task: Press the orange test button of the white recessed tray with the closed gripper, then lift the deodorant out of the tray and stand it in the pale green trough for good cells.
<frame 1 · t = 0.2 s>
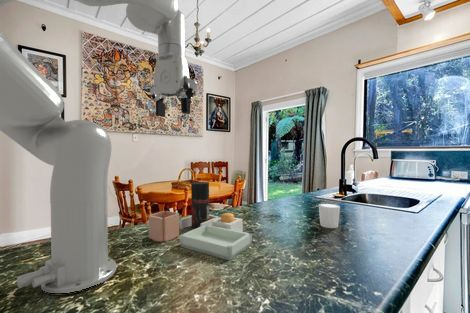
hand: (172, 114, 67), 36 cm above the countertop, tool pointing down, fingers open, 9 cm apart
trough: (216, 245, 62), on the countertop
white recessed tray: (212, 229, 76), on the countertop
deodorant: (200, 227, 78), resting in white recessed tray
white tapered cylinder: (329, 226, 79), on the countertop
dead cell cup: (164, 237, 69), on the countertop
button: (227, 221, 72), point 3 cm above the countertop, slide at 0.7 cm
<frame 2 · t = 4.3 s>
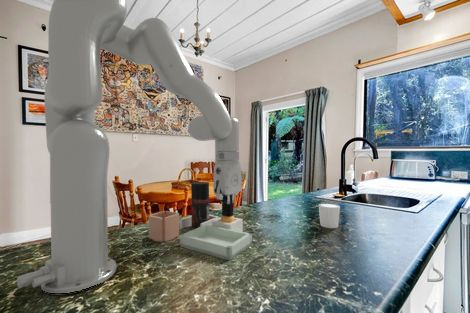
hand: (227, 215, 72), 5 cm above the countertop, tool pointing down, fingers closed
button: (227, 222, 72), point 3 cm above the countertop, slide at 1.1 cm, touching gripper
everything else where it was.
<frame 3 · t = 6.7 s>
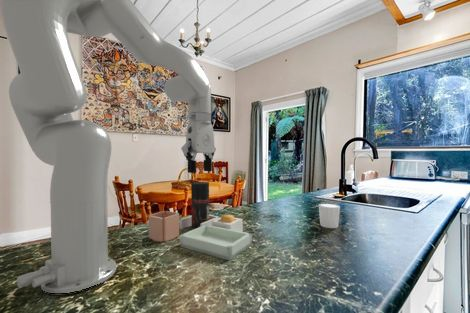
hand: (200, 171, 78), 19 cm above the countertop, tool pointing down, fingers open, 7 cm apart
button: (227, 223, 72), point 3 cm above the countertop, slide at 1.2 cm
everything else where it was.
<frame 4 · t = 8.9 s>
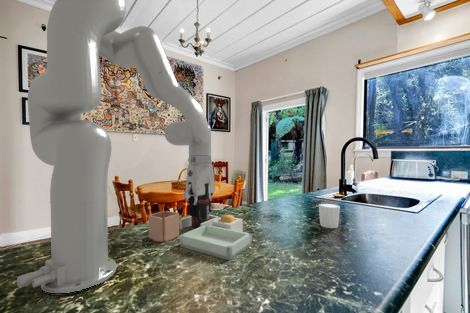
hand: (200, 213, 78), 5 cm above the countertop, tool pointing down, fingers closed on deodorant, 5 cm apart
deodorant: (200, 227, 78), resting in white recessed tray, touching gripper
everything else where it was.
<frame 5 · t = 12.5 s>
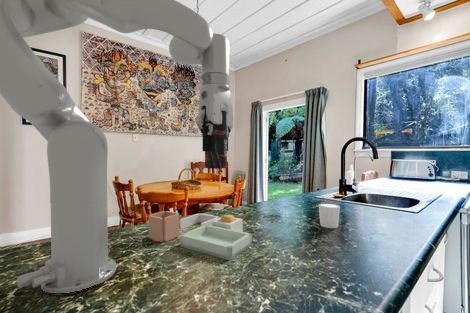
hand: (215, 150, 62), 26 cm above the countertop, tool pointing down, fingers closed on deodorant, 5 cm apart
deodorant: (216, 168, 62), point 21 cm above the countertop, touching gripper
everything else where it was.
when the fingers open (7 cm above the countertop, at t = 16.1 s): deodorant drops 2 cm, resting on trough.
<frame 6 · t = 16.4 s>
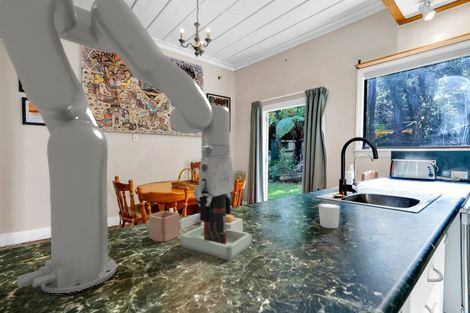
hand: (216, 216, 62), 8 cm above the countertop, tool pointing down, fingers open, 8 cm apart
deodorant: (215, 243, 62), point 1 cm above the countertop, touching trough
everything else where it was.
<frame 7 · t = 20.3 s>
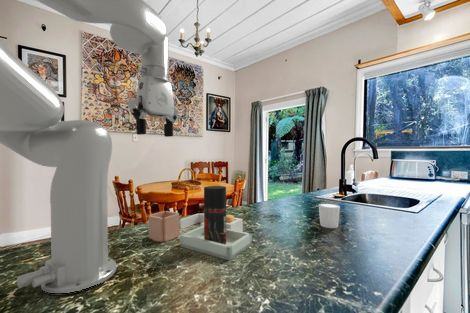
hand: (155, 135, 67), 30 cm above the countertop, tool pointing down, fingers open, 9 cm apart
nothing on the countertop moved.
at the end: deodorant inside the target area on the trough (0.3 cm from its centre), point 0.6 cm above the trough's base; deodorant tilted 0°; the gripper is holding nothing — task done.
